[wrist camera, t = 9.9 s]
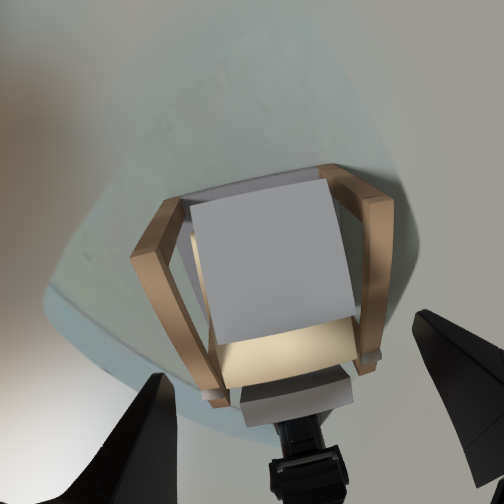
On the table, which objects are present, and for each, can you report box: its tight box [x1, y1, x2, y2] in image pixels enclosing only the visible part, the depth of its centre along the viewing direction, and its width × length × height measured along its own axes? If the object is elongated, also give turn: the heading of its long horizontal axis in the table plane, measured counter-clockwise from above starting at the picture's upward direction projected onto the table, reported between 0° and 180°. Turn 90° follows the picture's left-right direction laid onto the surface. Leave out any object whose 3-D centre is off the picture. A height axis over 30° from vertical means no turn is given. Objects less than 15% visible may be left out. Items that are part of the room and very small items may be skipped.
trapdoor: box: [190, 231, 357, 427], centre depth 18 cm, size 13×8×6 cm
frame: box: [130, 163, 394, 408], centre depth 16 cm, size 12×11×8 cm
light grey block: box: [190, 178, 356, 345], centre depth 12 cm, size 5×5×6 cm
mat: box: [176, 166, 341, 328], centre depth 20 cm, size 12×11×1 cm
